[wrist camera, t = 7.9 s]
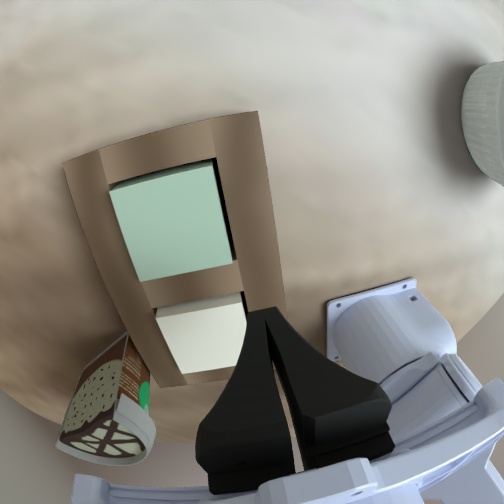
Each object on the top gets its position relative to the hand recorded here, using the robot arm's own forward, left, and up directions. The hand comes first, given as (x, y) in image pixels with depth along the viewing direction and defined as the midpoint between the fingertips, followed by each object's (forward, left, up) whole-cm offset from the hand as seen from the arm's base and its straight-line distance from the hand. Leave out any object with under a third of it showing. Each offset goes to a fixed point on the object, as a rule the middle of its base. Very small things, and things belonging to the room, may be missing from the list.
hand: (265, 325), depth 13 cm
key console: (+4, +1, -9) cm, 10 cm away
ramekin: (-26, -8, -10) cm, 29 cm away
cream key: (+4, +6, -8) cm, 11 cm away
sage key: (+4, -4, -8) cm, 10 cm away
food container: (+14, +11, -10) cm, 20 cm away
